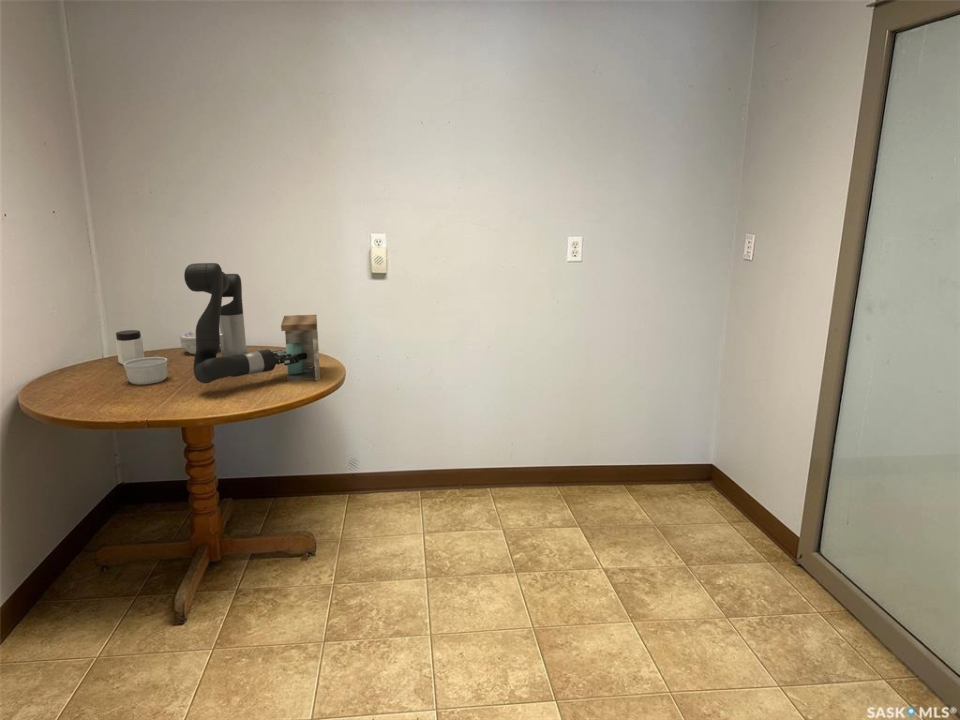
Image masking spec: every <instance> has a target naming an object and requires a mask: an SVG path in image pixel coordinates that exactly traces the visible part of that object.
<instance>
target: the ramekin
mask: <svg viewBox="0 0 960 720" xmlns="http://www.w3.org/2000/svg"><path fill="white" fill-rule="evenodd" d="M168 363H169V361H168V358H166V357H162V356H151V357H150V356H149V357H145V358H139V359H134V360H130V361H127V362H125V363H124V365H123V368H124V369H125V374H126V376H127V380H128V381H129V382H130V384H133V385H138V386H139V385H141V386H142V385H152V384H156V383H160V382H162V381H164V380H166V378H168Z"/></svg>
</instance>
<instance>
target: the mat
mask: <svg viewBox="0 0 960 720" xmlns="http://www.w3.org/2000/svg"><path fill="white" fill-rule="evenodd" d="M303 379H308V380H315V368H305V372H303V373H299V374H290V373H288V372H287V378H286V380H292V381H303Z"/></svg>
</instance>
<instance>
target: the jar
mask: <svg viewBox="0 0 960 720" xmlns="http://www.w3.org/2000/svg"><path fill="white" fill-rule="evenodd" d="M141 334H142V333H141V331H140V330H138V329H137V330H136V329H130V330H129V329H128V330H120V331H117V332H115V337H116V338H115V344H116V351H117V359H118V363H119V364H121V365H123V366H124V363H125V362H127V361H130V360H134V359H139V358H146V357H145V351H144V343H143V338H142V335H141Z"/></svg>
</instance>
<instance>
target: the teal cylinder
mask: <svg viewBox="0 0 960 720" xmlns="http://www.w3.org/2000/svg"><path fill="white" fill-rule="evenodd" d="M285 351H286V353H290V354H300V353H304V347H303V343H289V344H286V343H285ZM287 357H288V356H287ZM286 368H287V369H286V370H287V374H288V373H290V374H299V373H303V372H305V369H306V368H305V363H304V359H303V360H299V363H295V364H291V365H287V366H286Z"/></svg>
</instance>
